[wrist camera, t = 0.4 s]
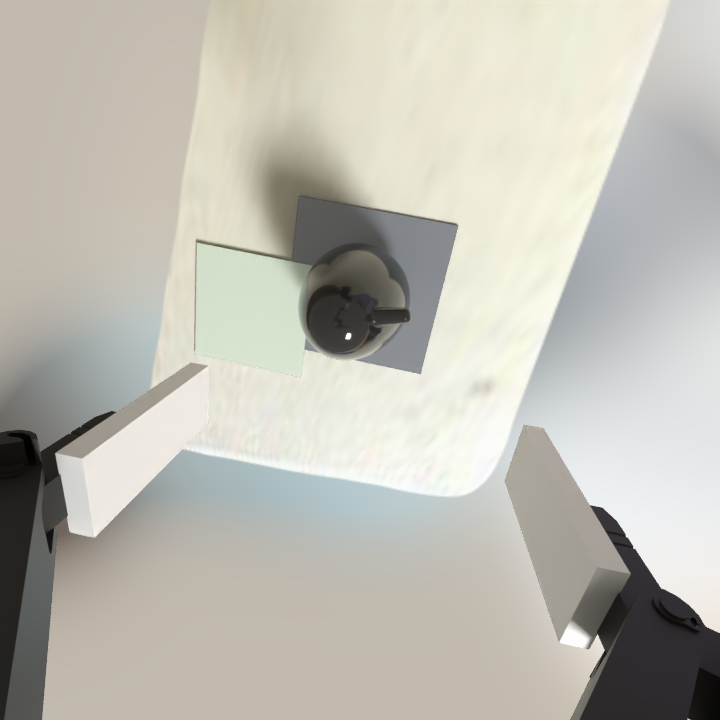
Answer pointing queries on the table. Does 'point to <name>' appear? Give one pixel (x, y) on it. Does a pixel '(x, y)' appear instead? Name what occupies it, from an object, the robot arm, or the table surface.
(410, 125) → the table surface
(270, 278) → the mat
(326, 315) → the pump dispenser
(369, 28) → the table surface
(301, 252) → the tile
